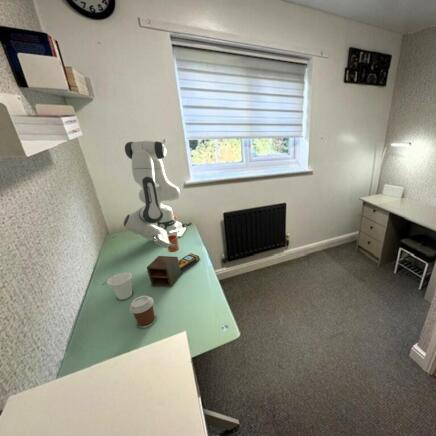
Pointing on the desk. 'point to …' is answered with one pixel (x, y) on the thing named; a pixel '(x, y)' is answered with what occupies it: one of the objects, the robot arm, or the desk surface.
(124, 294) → the cup
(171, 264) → the shelf
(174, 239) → the tumbler
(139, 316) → the coffee cup
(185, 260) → the electronic device
